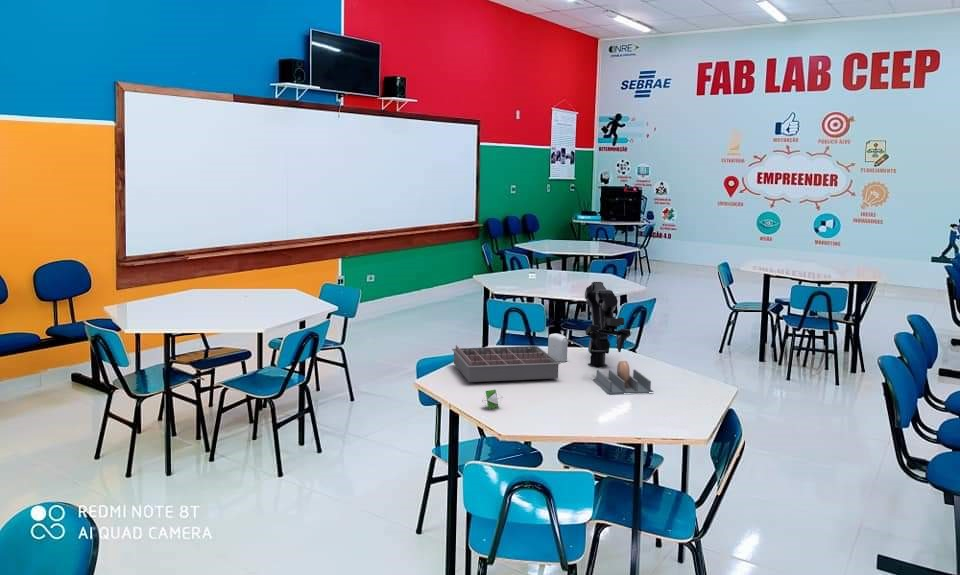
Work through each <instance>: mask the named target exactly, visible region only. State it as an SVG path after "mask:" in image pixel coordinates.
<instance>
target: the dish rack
mask: <svg viewBox="0 0 960 575" xmlns="http://www.w3.org/2000/svg"><path fill="white" fill-rule="evenodd" d="M632 372H633V373H632V375H630V376H629V381H628V382H627V383H628V384H629V385H628V387H625V381H624V380H622V379H621V378H620V377H619V376H618V375H617V373H615V372H614V371H613V370H611V369H608V377H607V376H606V375H605V374H603V373H602V372H601V371H600V370H599V369H596V372H595V375H596V376H595V378H592V381H593V382H594V383H595V384H596V385H597V386H598V387H599V386H600V387H601V388H602V389H601V388H600V387H599V388H600V389H601V390H602V391H603V392H604V393H606V394H607V395H608V394H609V395H625V394H624V393H649V392H654V390H652V389H651V388H652V381H651V380H650V379H649V378H648V377H646V376H645V375H643V374H642V373H641V372H639V371H638V370H637V369H633V371H632Z"/></svg>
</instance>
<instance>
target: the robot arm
mask: <svg viewBox="0 0 960 575" xmlns="http://www.w3.org/2000/svg"><path fill="white" fill-rule="evenodd" d="M584 300H585V301H586V304H587V305H588V306H589V307H590V315H591V321H592V324H590V325H589V326H587V328H586V329H585V336H588V337H589V338H590V339H589V343H588V346H587V349H588V350H587V352H588V353H589V354H590V358H589V360H590V361H589V363H587V365H588V366H589V367H593V368H598V369H599V368H602V367H603V368H604V367H608V364H606V354H609V353H610V347H611V343H610V340H609V339H608V338H609V337H608V335H611V336H616V346H617V351H618V352H617V353H620V352H621V351H622V348H623V344H624V341H625V340H626V339H627V340H628V338H629V337H630V336H632V333H631V330H630V329H629V328H620V327H621V326H625V317H621V316H620V317H618V318H616V317H615V316H614V311H615V310H616V307H617V305H618V300H619V299H618V297H617V296H616V295H615V293H614V291H613V290H611V289H607V288H606V286H605V285H604V282H601V281H592V282H591V284H590V285H588V286H587V287H586V289H585V291H584ZM618 327H619V328H620V329H619V330H617V329H618Z"/></svg>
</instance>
